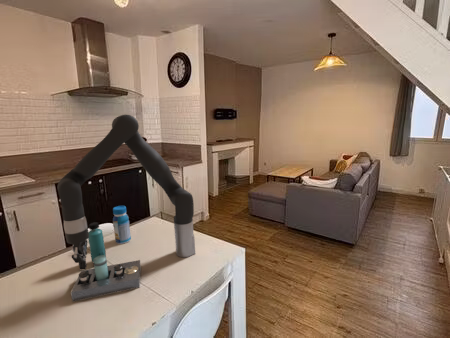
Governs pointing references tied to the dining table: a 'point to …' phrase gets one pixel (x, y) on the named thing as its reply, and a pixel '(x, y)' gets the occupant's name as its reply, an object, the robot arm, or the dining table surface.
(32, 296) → the dining table surface
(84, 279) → the plunger
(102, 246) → the beverage bottle
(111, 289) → the housing
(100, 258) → the cylinder
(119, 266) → the plunger
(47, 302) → the dining table surface
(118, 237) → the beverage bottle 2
